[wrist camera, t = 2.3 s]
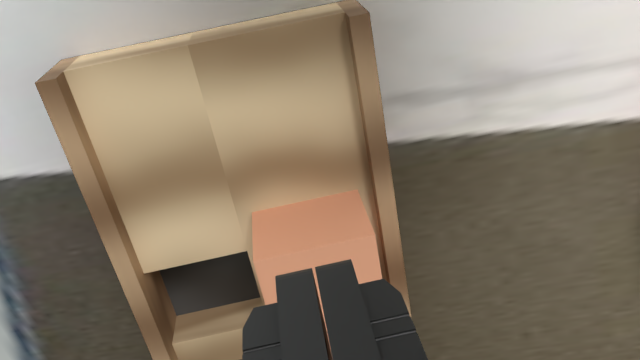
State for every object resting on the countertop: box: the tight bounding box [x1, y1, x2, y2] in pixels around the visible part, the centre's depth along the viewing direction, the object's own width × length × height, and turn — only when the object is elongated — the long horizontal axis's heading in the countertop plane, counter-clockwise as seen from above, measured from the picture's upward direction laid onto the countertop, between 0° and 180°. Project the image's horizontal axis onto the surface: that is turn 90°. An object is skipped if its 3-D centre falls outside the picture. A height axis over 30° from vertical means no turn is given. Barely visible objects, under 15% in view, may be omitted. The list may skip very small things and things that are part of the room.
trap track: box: [35, 0, 412, 360], centre depth 28 cm, size 25×13×6 cm, turn 10°
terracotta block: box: [252, 189, 382, 349], centre depth 26 cm, size 6×5×4 cm
